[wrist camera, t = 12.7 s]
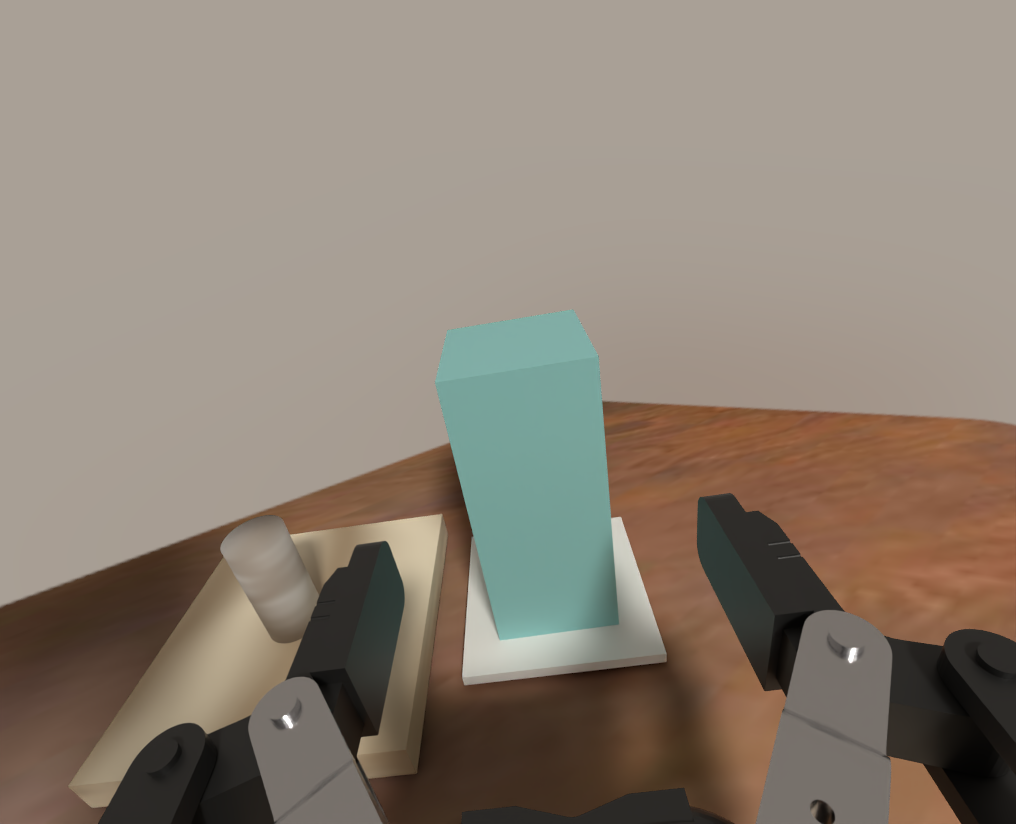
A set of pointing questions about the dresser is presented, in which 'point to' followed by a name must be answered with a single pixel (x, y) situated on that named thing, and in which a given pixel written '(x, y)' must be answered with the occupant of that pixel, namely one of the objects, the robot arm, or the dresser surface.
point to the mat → (563, 650)
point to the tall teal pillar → (533, 470)
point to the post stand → (276, 643)
